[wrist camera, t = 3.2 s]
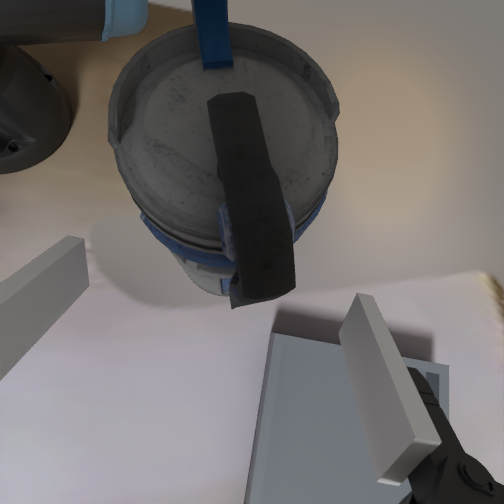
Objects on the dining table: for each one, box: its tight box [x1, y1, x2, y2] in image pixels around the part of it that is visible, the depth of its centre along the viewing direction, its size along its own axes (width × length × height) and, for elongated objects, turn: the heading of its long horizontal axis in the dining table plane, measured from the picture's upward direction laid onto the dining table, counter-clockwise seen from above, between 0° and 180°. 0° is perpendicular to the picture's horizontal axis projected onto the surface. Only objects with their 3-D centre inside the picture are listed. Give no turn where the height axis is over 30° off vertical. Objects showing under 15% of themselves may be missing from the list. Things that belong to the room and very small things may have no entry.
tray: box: [244, 333, 449, 504], centre depth 28 cm, size 20×18×3 cm
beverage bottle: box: [108, 0, 340, 309], centre depth 21 cm, size 10×13×25 cm
